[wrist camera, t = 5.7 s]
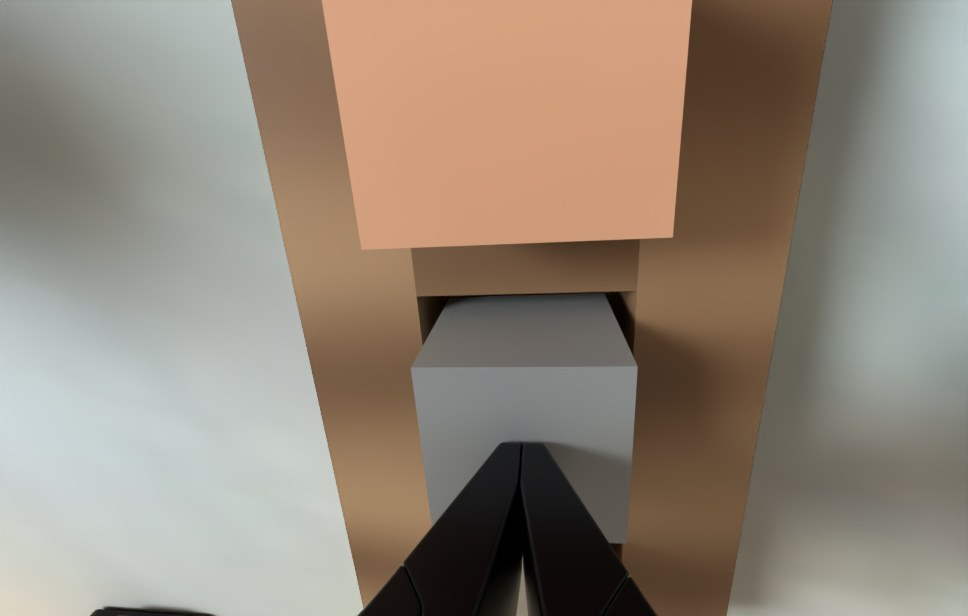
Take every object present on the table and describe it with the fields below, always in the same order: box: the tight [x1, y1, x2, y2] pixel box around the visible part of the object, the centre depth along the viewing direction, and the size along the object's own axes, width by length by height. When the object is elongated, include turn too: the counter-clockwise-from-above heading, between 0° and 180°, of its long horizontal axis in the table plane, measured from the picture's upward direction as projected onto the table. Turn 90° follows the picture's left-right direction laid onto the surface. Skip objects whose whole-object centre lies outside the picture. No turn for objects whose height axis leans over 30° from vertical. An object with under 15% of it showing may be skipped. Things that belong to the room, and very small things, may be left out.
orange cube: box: [322, 0, 692, 250], centre depth 7 cm, size 4×4×4 cm
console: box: [231, 0, 833, 616], centre depth 13 cm, size 22×11×4 cm, turn 4°
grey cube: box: [411, 293, 638, 544], centre depth 10 cm, size 4×4×4 cm
